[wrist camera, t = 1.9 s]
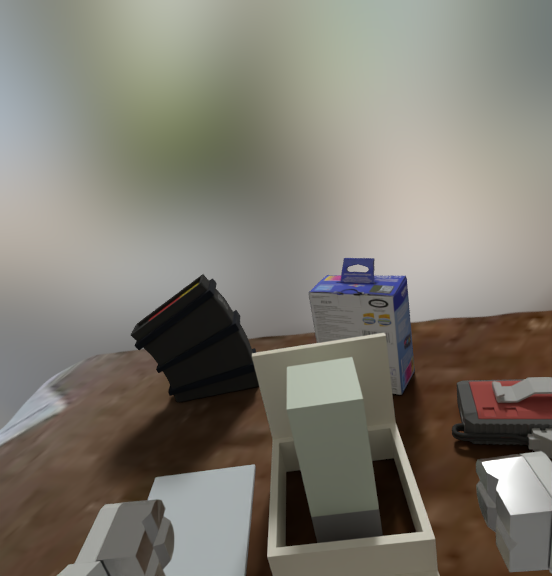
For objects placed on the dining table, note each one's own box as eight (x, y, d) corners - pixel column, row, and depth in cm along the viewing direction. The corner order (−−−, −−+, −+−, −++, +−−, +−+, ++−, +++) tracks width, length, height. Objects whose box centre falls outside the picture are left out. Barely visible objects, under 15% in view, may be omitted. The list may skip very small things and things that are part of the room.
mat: (110, 612, 31) (108, 608, 31) (157, 480, 42) (155, 477, 42) (243, 599, 30) (242, 595, 30) (255, 467, 41) (254, 464, 41)
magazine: (283, 372, 52) (203, 282, 47) (200, 427, 55) (115, 347, 50) (281, 356, 56) (206, 271, 51) (203, 409, 58) (124, 332, 53)
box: (317, 544, 33) (286, 409, 28) (314, 490, 37) (286, 366, 33) (383, 537, 32) (363, 398, 27) (371, 483, 37) (352, 356, 32)
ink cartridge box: (417, 368, 51) (407, 254, 45) (404, 397, 46) (392, 275, 41) (339, 358, 56) (322, 254, 50) (322, 383, 52) (301, 273, 46)
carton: (275, 666, 26) (227, 524, 21) (280, 463, 41) (252, 353, 36) (462, 651, 25) (454, 497, 20) (397, 448, 40) (384, 332, 35)
